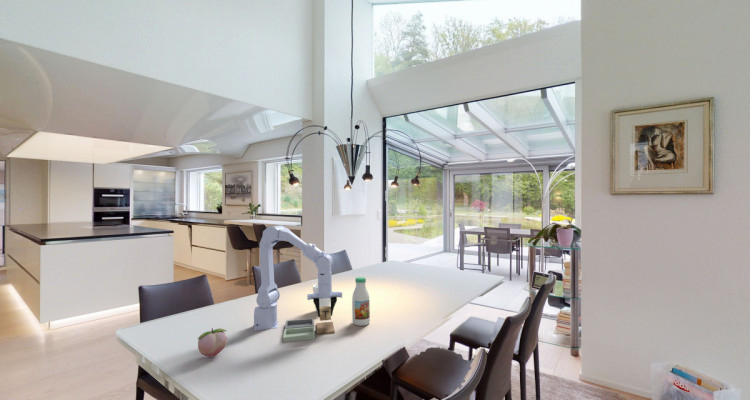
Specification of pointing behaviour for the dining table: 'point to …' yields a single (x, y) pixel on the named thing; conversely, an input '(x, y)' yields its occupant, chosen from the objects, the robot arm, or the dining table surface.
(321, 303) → the foam cup
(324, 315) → the letter cube
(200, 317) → the dining table surface
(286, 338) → the sage tray
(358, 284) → the milk bottle
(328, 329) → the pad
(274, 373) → the dining table surface
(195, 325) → the dining table surface
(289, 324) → the gray tray
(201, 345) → the decorative fruit
